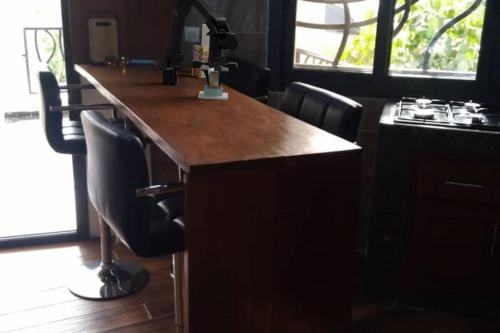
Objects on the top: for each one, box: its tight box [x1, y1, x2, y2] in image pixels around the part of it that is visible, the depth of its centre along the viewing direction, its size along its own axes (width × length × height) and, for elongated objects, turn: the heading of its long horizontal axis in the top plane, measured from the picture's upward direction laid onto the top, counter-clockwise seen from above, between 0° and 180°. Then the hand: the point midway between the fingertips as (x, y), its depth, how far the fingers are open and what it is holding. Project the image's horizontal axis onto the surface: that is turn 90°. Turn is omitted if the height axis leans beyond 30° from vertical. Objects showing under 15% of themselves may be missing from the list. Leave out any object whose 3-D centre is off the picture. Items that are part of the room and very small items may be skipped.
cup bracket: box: [197, 85, 229, 101], centre depth 231 cm, size 12×12×4 cm
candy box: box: [191, 44, 209, 79], centre depth 279 cm, size 9×4×15 cm, turn 39°
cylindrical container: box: [201, 23, 215, 75], centre depth 291 cm, size 7×7×25 cm
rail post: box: [209, 70, 220, 89], centre depth 230 cm, size 4×4×8 cm
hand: (213, 86), depth 230 cm, fingers closed on rail post, 4 cm apart
